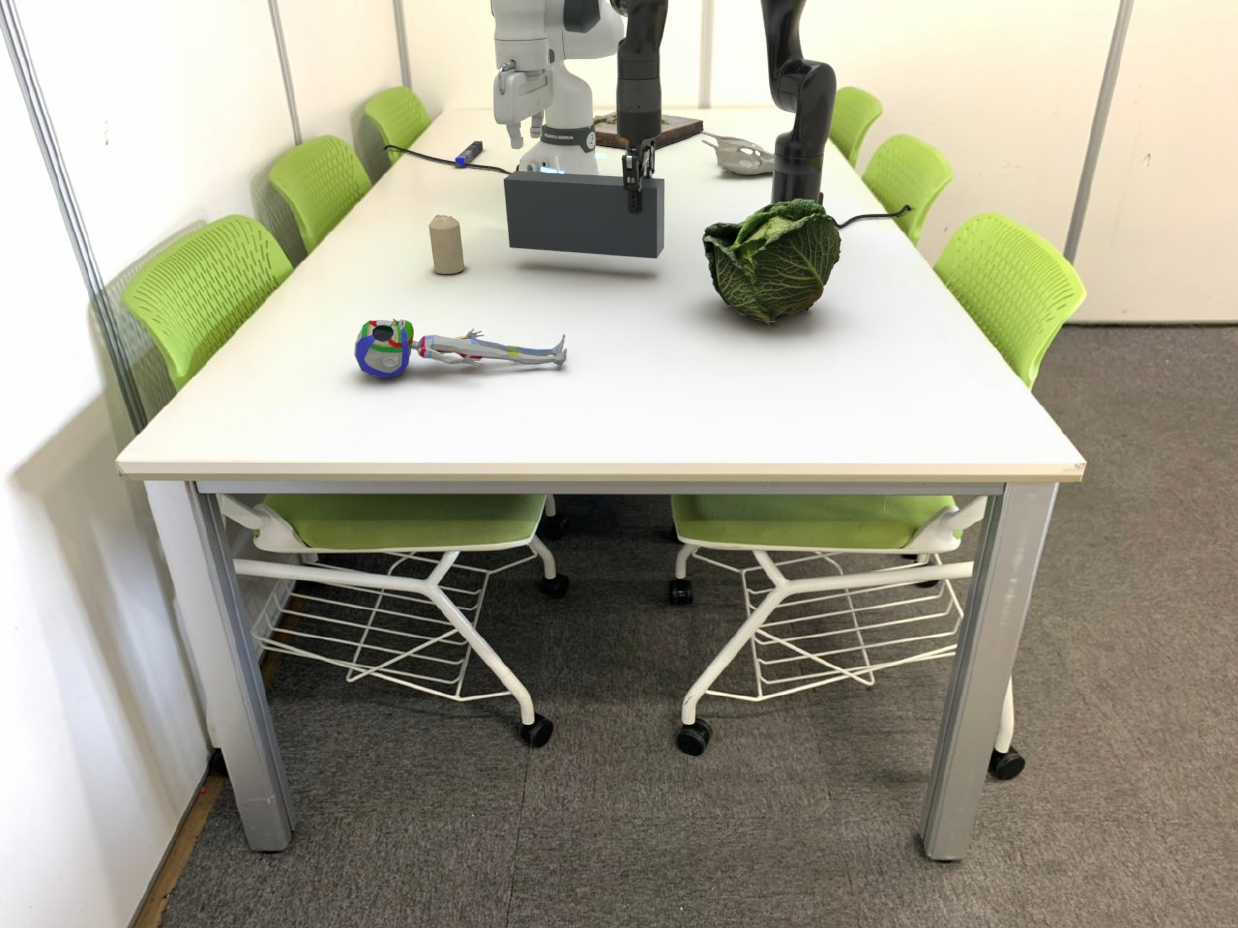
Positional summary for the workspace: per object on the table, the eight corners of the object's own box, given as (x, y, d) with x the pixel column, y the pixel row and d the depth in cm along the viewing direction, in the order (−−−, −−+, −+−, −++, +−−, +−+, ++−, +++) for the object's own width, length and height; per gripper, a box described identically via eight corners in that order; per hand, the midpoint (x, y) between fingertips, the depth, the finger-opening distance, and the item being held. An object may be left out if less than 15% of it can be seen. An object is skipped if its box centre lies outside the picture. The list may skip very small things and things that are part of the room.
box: (509, 247, 165) (503, 179, 158) (520, 238, 169) (515, 170, 163) (656, 258, 158) (657, 187, 152) (664, 248, 163) (664, 178, 156)
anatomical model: (704, 128, 226) (804, 127, 222) (703, 165, 231) (801, 165, 227) (699, 142, 214) (805, 141, 210) (699, 181, 219) (803, 181, 215)
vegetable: (733, 339, 155) (677, 239, 148) (822, 277, 157) (772, 174, 149) (783, 360, 137) (723, 247, 129) (884, 290, 138) (830, 173, 131)
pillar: (482, 141, 246) (462, 159, 229) (483, 149, 247) (463, 167, 230) (474, 141, 246) (454, 159, 230) (475, 149, 247) (455, 167, 231)
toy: (569, 347, 126) (349, 329, 122) (563, 400, 131) (350, 385, 126) (565, 318, 135) (359, 301, 130) (559, 369, 139) (360, 354, 134)
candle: (469, 265, 169) (463, 213, 163) (455, 275, 164) (449, 221, 159) (443, 262, 170) (437, 210, 165) (429, 272, 166) (422, 219, 160)
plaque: (647, 125, 237) (559, 112, 252) (647, 153, 241) (560, 139, 256) (706, 107, 258) (622, 97, 273) (705, 133, 262) (622, 121, 277)
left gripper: (517, 65, 141) (523, 156, 149) (558, 50, 158) (562, 132, 165) (480, 64, 143) (487, 154, 150) (525, 50, 160) (530, 131, 167)
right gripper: (650, 115, 141) (650, 221, 150) (670, 98, 153) (669, 197, 162) (605, 114, 143) (607, 218, 152) (628, 97, 155) (629, 195, 164)
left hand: (527, 143), depth 158 cm, fingers open, 8 cm apart
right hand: (639, 207), depth 157 cm, fingers closed on box, 5 cm apart
